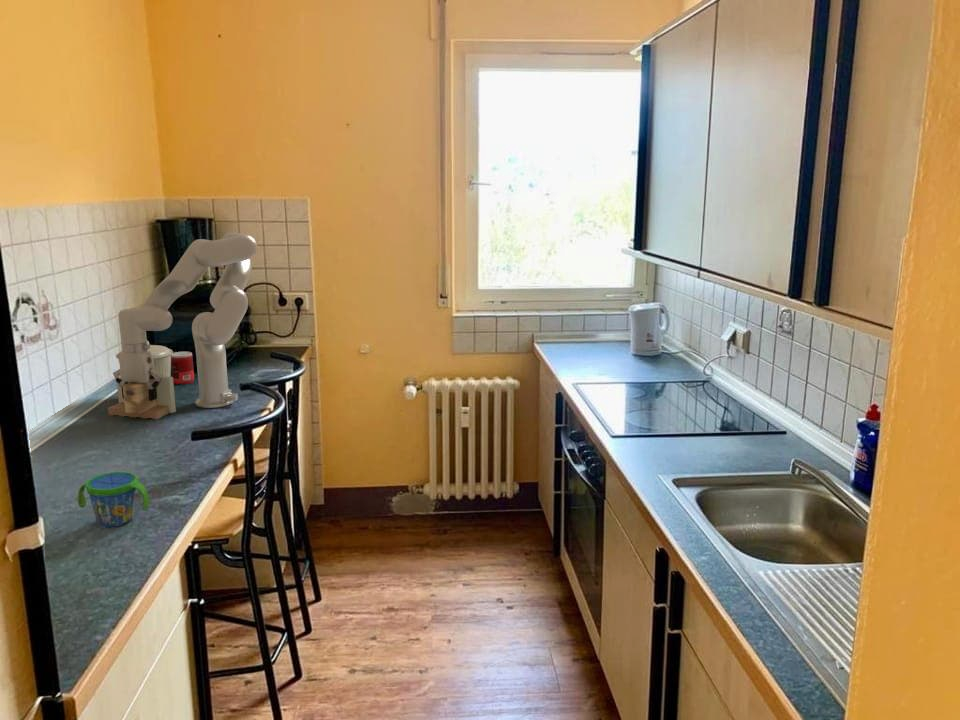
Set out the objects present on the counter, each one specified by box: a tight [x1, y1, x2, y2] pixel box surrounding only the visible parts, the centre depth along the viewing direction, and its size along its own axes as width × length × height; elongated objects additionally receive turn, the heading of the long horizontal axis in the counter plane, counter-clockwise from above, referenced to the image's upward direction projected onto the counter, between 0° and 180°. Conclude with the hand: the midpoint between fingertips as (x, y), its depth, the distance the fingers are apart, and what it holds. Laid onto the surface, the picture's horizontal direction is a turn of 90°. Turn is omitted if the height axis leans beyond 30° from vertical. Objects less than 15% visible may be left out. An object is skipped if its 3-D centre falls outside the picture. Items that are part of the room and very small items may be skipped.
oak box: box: [123, 382, 157, 414], centre depth 247 cm, size 5×10×9 cm, turn 167°
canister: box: [115, 340, 174, 377], centre depth 265 cm, size 18×18×21 cm
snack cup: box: [77, 471, 150, 528], centre depth 174 cm, size 16×10×10 cm
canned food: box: [171, 351, 195, 385], centre depth 287 cm, size 8×8×11 cm
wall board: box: [107, 374, 177, 420], centre depth 250 cm, size 20×8×12 cm, turn 77°
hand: (139, 398), depth 247 cm, fingers open, 9 cm apart
